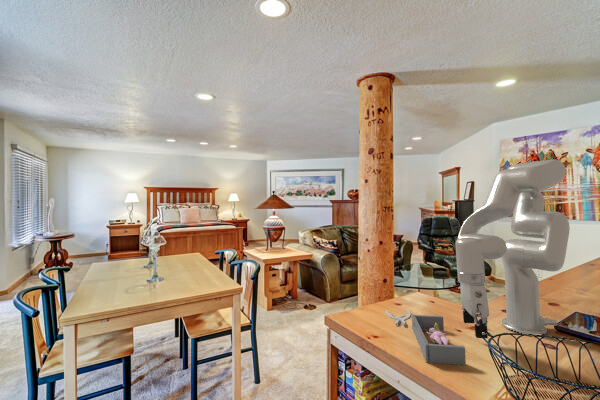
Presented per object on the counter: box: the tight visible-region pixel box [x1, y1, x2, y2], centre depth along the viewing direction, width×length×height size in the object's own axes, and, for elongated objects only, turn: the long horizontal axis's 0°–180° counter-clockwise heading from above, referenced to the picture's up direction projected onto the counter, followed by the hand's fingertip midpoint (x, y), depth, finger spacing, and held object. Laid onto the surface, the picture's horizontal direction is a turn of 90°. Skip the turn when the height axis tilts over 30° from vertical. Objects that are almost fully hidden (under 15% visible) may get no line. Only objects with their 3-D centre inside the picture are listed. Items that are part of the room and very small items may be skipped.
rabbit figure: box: [426, 323, 449, 345], centre depth 93 cm, size 6×6×15 cm
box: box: [411, 314, 467, 366], centre depth 91 cm, size 10×22×5 cm, turn 168°
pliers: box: [385, 309, 412, 328], centre depth 112 cm, size 10×2×15 cm
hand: (475, 329), depth 90 cm, fingers open, 9 cm apart
